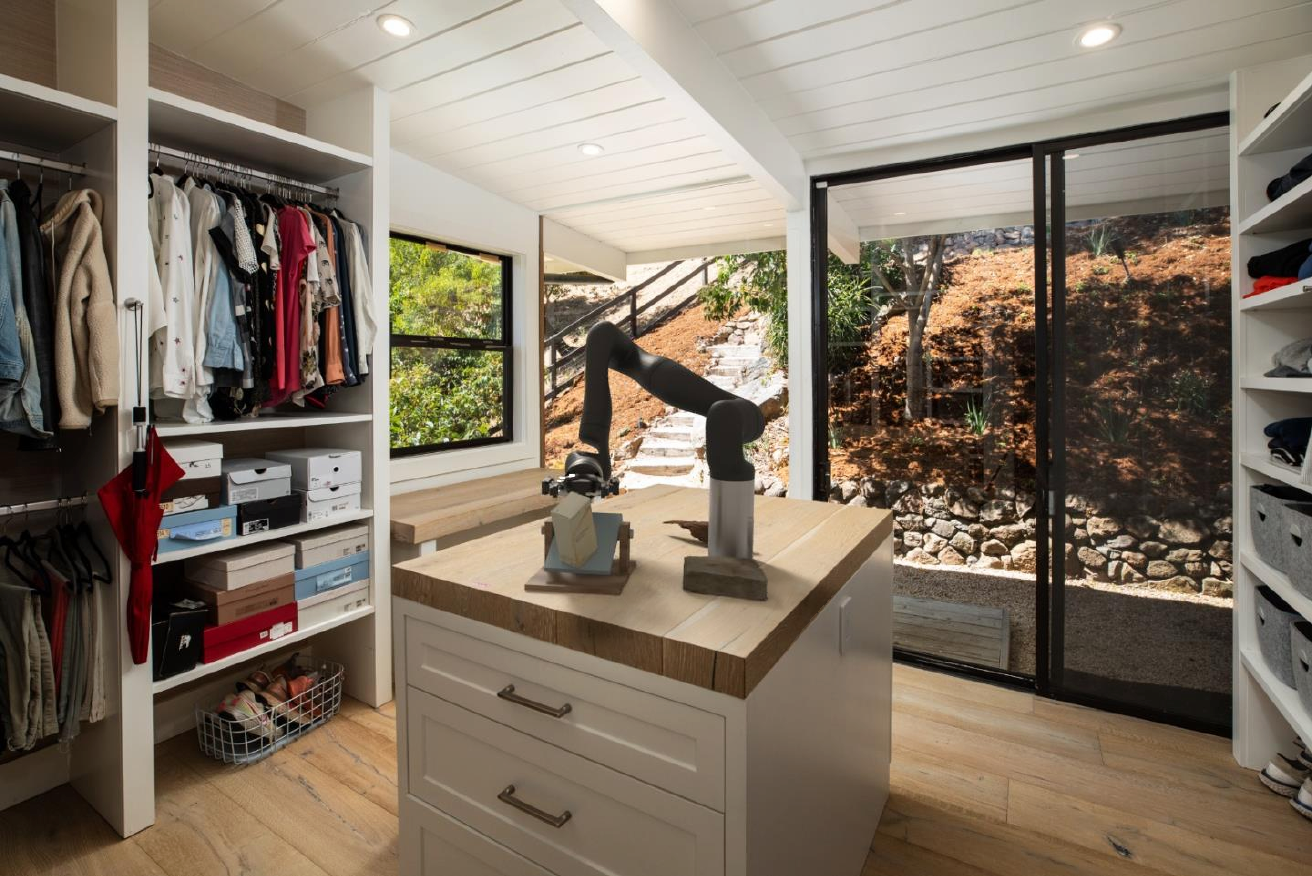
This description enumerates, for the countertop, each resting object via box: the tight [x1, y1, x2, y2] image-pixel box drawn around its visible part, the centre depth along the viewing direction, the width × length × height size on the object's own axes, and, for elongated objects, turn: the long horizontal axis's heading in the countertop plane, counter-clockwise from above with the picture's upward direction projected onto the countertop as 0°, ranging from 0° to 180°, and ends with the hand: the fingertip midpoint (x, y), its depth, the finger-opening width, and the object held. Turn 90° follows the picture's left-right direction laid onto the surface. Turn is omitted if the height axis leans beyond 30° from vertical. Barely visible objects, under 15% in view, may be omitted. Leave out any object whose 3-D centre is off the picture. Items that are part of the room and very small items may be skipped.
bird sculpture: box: [662, 519, 755, 544], centre depth 156 cm, size 7×25×5 cm, turn 54°
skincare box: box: [550, 491, 598, 568], centre depth 120 cm, size 6×4×12 cm
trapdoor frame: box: [523, 517, 638, 596], centre depth 127 cm, size 19×18×10 cm
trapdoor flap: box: [542, 511, 624, 575], centre depth 128 cm, size 15×12×4 cm
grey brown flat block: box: [682, 555, 769, 602], centre depth 124 cm, size 17×15×4 cm
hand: (578, 492), depth 120 cm, fingers open, 8 cm apart
